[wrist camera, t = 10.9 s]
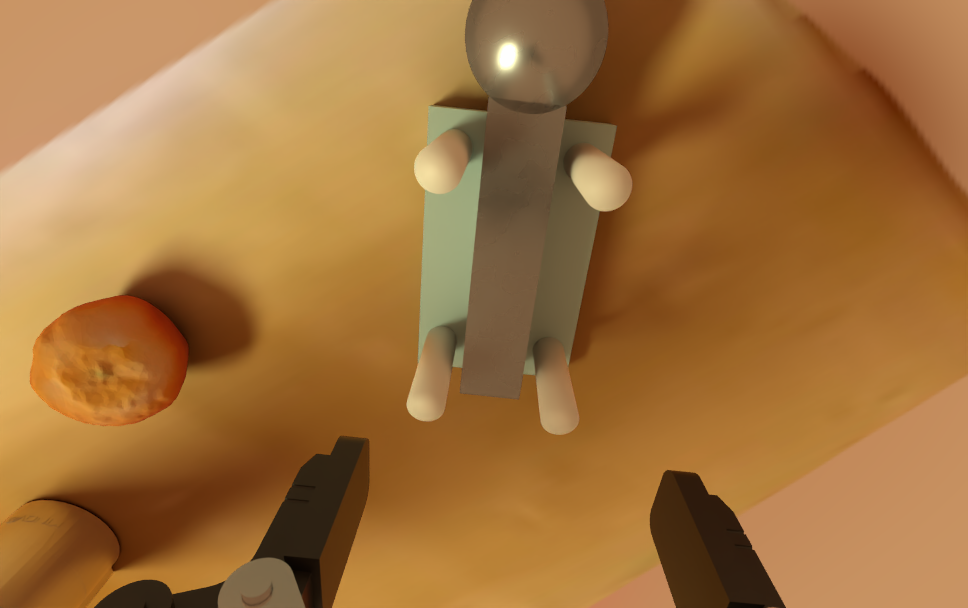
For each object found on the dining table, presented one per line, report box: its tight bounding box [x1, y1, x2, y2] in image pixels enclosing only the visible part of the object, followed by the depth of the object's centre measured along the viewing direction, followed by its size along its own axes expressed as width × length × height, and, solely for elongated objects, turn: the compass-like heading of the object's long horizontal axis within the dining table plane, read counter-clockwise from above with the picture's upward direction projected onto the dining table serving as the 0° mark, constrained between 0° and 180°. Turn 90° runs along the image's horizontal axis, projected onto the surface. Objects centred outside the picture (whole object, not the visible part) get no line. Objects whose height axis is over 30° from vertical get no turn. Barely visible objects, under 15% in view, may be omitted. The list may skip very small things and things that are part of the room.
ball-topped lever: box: [460, 0, 608, 399], centre depth 24 cm, size 24×6×4 cm, turn 174°
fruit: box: [30, 295, 189, 426], centre depth 31 cm, size 8×8×8 cm
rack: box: [407, 105, 632, 435], centre depth 26 cm, size 16×10×8 cm, turn 175°
